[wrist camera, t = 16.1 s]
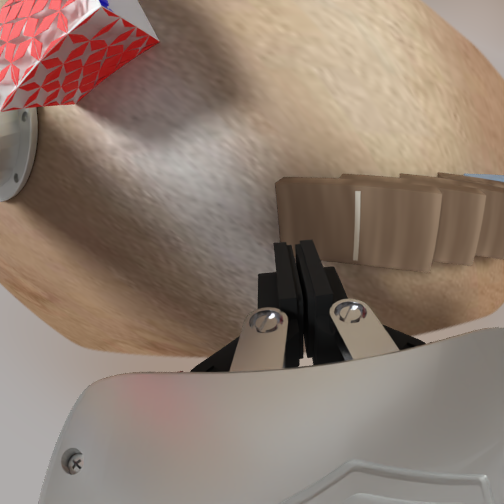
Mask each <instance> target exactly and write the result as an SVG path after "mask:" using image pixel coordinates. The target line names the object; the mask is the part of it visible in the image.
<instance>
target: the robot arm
mask: <svg viewBox="0 0 504 504" xmlns="http://www.w3.org/2000/svg"><path fill="white" fill-rule="evenodd" d="M37 136H38V120H37V108H36V107H33V108H25V109H17V110H10V111H4V112H0V202H3V201H6V200H8V199H10V198H12V197H14V196H15V195H16V194H18V193H19V192H20V191H21V189H22V188H23V186H24V185H25V184H26V181H27V179H28V177H29V175H30V172H31V169H32V166H33V163H34V157H35V152H36V145H37ZM274 251H275V262H276V272H273V273H262V274H258V309H257V310H255V311H253V312H251V313H250V314H249V315H248V316H247V317H246V319H245V321H244V324H243V328H242V331H241V334H240V336H239V337H238V338H236V339H235V340H233V341H232V342H231V343H229V344H228V345H226V346H225V347H223V348H222V349H221V350H219V351H218V352H216V353H215V354H213V355H212V356H210V357H209V358H207V359H206V360H204V361H203V362H201V363H200V364H198V365H197V366H196V367H195V368H193V369H192V370H191V371H190V372H183V371H180V372H133V373H125V374H119V375H114V376H110V377H106V378H103V379H100V380H98V381H96V382H94V383H92V384H91V385H89V386H88V387H87V388H86V389H85V390H84V391H83V392H82V394H81V395H80V396H79V398H78V399H77V401H76V403H75V404H74V406H73V408H72V410H71V412H70V413H69V415H68V417H67V419H66V421H65V424H64V426H63V428H62V431H61V433H60V435H59V438H58V440H57V442H56V445H55V448H54V451H53V454H52V457H51V460H50V463H49V466H48V469H47V472H46V475H45V479H44V482H43V485H42V489H41V493H40V498H39V502H38V504H504V328H499V327H495V328H485V329H480V330H475V331H471V332H468V333H464V334H461V335H457V336H453V337H449V338H446V339H443V340H439V341H436V342H430V343H428V344H426V343H424V342H423V341H421V340H419V339H416V338H414V337H411V336H409V335H406V334H404V333H402V332H399V331H397V330H394V329H392V328H389V327H387V326H384V325H382V324H381V323H380V321H379V320H378V318H377V317H376V316H375V314H374V313H373V311H372V310H371V309H370V307H369V306H368V305H367V304H366V303H364V302H362V301H360V300H356V299H348V298H347V295H346V293H345V290H344V288H343V286H342V283H341V281H340V279H339V276H338V274H337V272H336V270H335V268H334V267H323V265H322V263H321V260H320V258H319V255H318V252H317V250H316V247H315V245H314V242H313V240H301V241H300V243H299V244H295V254H296V263H295V258H294V254H293V249H292V245H287V244H286V242H280V243H274ZM303 334H304V341H305V347H306V353H307V357H308V358H311V357H312V359H313V365H312V366H304V367H298V366H299V359H302V358H303Z"/></svg>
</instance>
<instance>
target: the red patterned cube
mask: <svg viewBox="0 0 504 504" xmlns="http://www.w3.org/2000/svg"><path fill="white" fill-rule="evenodd" d="M159 42H160V41H159V39H158V38H157V36H156V34H155V32H154V30H153V28H152V26H151V24H150V22H149V21H148V19H147V17H146V15H145V13H144V11H143V9H142V7H141V6H140V4H139V2H138V0H8V1H7V2H6V4H5V5H4V6H3V7H2V8H1V10H0V112H4V111H10V110H17V109H25V108H33V107H42V106H54V105H70V104H76V103H77V102H78V101H79V100H81V99H82V98H83V97H84V96H85V95H86V94H87V93H89V92H90V91H91V90H92V89H93V88H94V87H96V86H97V85H98V84H99V83H101V82H102V81H103V80H104V79H106V78H107V77H108V76H110V75H111V74H112V73H114V72H115V71H116V70H118V69H119V68H120V67H122V66H123V65H125V64H126V63H128V62H129V61H130V60H132V59H133V58H135V57H136V56H138V55H140V54H141V53H143V52H144V51H146V50H147V49H149V48H151V47H152V46H154V45H156V44H157V43H159Z"/></svg>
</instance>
